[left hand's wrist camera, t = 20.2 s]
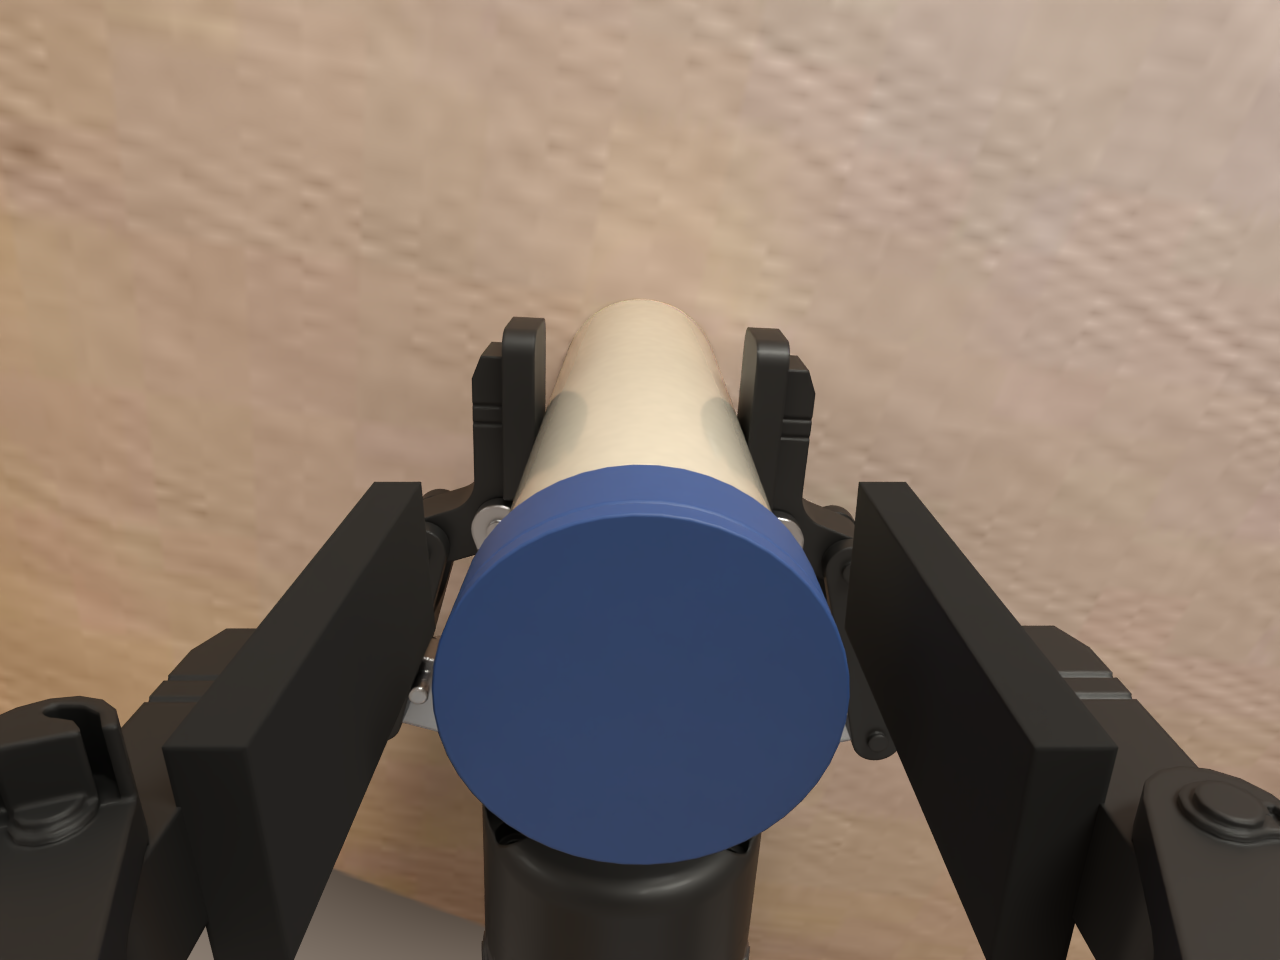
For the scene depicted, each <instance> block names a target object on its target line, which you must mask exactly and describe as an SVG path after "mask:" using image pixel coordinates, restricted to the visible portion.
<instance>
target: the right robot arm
mask: <svg viewBox="0 0 1280 960" xmlns="http://www.w3.org/2000/svg"><path fill="white" fill-rule="evenodd" d="M545 373H546V325H545V319H544V318H527V317H513V318H512V319H511V321H510V322H509V323H508V324H507V326H506V327H505V329H504V332H503V339H502V342H491V343H490V345H489V346H488V347H487V349H486V350H485V351H484V352H483V354H482V355H481V357H480V359H479V362H478V364H477V367H476V369H475V372H474V374H473V377H472V403H473V445H474V482H473V483H472V484H470V485H468V486H466V487H463V488H460V489H456V490H453V491H449V490H445V489H435V490H432V491H429V492H427V493H426V494H425V495H424V496H423V507H424V517H425V527H426V537H427V547H428V557H429V567H430V577H431V587H432V597H433V607H434V617H435V627H436V624H437V621H438V617H439V613H440V610H441V606H442V602H443V599H444V595H445V591H446V588H447V584H448V580H449V577H450V573H451V569H452V566H453V562H454V561H455V560H459V559H462V558H466V557H469V556H473V555H476V553H477V552H478V550H479V548H480V547H481V545H482V543H483V542H484V540H485V539H486V538H487V536H488V535H489V534H490V533H491V532H492V530H493V529H494V528H495V527H496V525H497V524H498V523H499V522H500V521H501V520H502V519H503V518H504V517H505V516H507V515H508V514H509V511H510V509H511V506H512V503H513V500H514V498H515V495H516V492H517V489H518V487H519V484H520V481H521V478H522V476H523V473H524V470H525V467H526V465H527V462H528V459H529V456H530V454H531V451H532V448H533V445H534V443H535V440H536V437H537V434H538V432H539V429H540V426H541V423H542V421H543V418H544V415H545ZM814 400H815V391H814V387H813V384H812V380H811V377H810V373H809V370H808V369H807V368H806V366H805V365H804V364H803V362H802V361H801V360H800V358H799V357H798V356H792V355H790V348H789V342H788V340H787V339H786V338H785V336H784V335H783V334H782V332H781V331H780V330H779V329H771V328H751V327H748V328H747V330H746V335H745V341H744V351H743V362H742V372H741V383H740V394H739V404H738V415H737V418H738V421H739V423H740V426H741V429H742V432H743V434H744V437H745V440H746V443H747V445H748V448H749V451H750V453H751V456H752V459H753V462H754V464H755V467H756V470H757V473H758V475H759V478H760V481H761V483H762V486H763V489H764V492H765V494H766V497H767V500H768V503H769V505H770V508H771V511H772V513H773V514H774V515H775V516H776V517H777V518H778V519H779V520H780V521H781V522H782V523H783V524H784V525H785V526H786V527H787V528H788V529H789V531H790V532H791V533H792V535H793V536H794V538H795V539H796V540H797V542H798V543H799V545H800V546H801V547H802V549H803V551H804V553H805V555H806V556H807V558H808V560H809V562H810V564H811V566H812V568H813V570H814V573H815V575H816V578H817V580H818V582H819V585H820V587H821V590H822V592H823V595H824V597H825V599H826V602H827V604H828V607H829V609H830V611H831V614H832V616H833V619H834V621H835V623H836V626H837V628H838V631H839V634H840V637H841V640H842V643H843V646H844V649H845V653H846V658H847V664H848V670H849V692H850V698H849V705H848V712H847V719H846V723H845V726H844V729H843V733H842V736H841V740H840V742H844V741H849V740H851V742H852V745H853V748H854V750H855V752H856V753H857V754H858V755H859V756H861V757H863V758H865V759H868V760H881V759H885V758H887V757H889V756H891V755H892V754H894V753H895V752H896V751H897V750H896V748H895V746H894V743H893V741H892V739H891V736H890V734H889V732H888V729H887V727H886V725H885V722H884V720H883V717H882V715H881V713H880V710H879V708H878V706H877V703H876V701H875V699H874V696H873V694H872V692H871V689H870V687H869V685H868V682H867V680H866V678H865V675H864V673H863V671H862V668H861V666H860V664H859V661H858V659H857V657H856V654H855V652H854V650H853V647H852V645H851V643H850V640H849V638H848V636H847V633H846V631H845V629H844V627H845V617H846V607H847V597H848V587H849V577H850V567H851V557H852V547H853V537H854V527H855V521H854V519H853V517H852V516H851V514H850V513H849V512H848V511H847V510H846V509H844V508H842V507H840V506H833V505H830V506H825V507H821V506H819V505H816V504H814V503H811V502H809V501H807V500H805V499H804V498H802V494H803V486H804V478H805V470H806V463H807V455H808V447H809V436H810V431H811V424H812V421H811V420H812V416H813V408H814ZM434 632H435V631H434ZM433 635H434V633H433ZM440 638H441V636H435V637H433V636H432V638H431V640H430V643H429V645H428V647H427V650H426V652H425V654H424V657H423V659H422V661H421V664H420V666H419V668H418V671H417V673H416V675H415V678H414V680H413V682H412V685H411V687H410V689H409V692H408V694H407V696H406V699H405V701H404V703H403V706H402V708H401V710H400V713H399V715H398V717H397V720H396V722H395V725H394V727H393V729H392V732H391V734H390V736H389V739H391V738H393V737H394V736H395V735H396V734H397V733H398V732H399V730H400V727H401V725H402V723H406V724H410V725H414V726H418V727H422V728H426V729H430V730H433V731H437V732H438V729H437V725H436V720H435V716H434V711H433V701H432V675H433V664H434V660H435V656H436V652H437V648H438V643H439V640H440ZM389 739H388V740H389ZM482 806H483V844H484V886H485V931H484V936H483V941H482V960H749V953H750V946H749V945H748V933H749V925H750V918H751V910H752V902H753V894H754V886H755V879H756V871H757V863H758V855H759V847H760V839H761V833H759V834H758V835H756V836H754V837H752V838H750V839H748V840H747V841H745V842H743V843H740V844H738V845H735V846H733V847H731V848H728V849H726V850H723V851H721V852H718V853H714V854H711V855H707V856H704V857H700V858H697V859H691V860H686V861H680V862H675V863H665V864H653V865H629V864H616V863H608V862H600V861H595V860H590V859H586V858H581V857H577V856H573V855H570V854H567V853H564V852H561V851H558V850H556V849H553V848H550V847H548V846H546V845H543V844H541V843H539V842H537V841H535V840H533V839H531V838H528V837H527V836H525V835H524V834H522V833H520V832H519V831H517V830H515V829H514V828H512V827H510V826H509V825H507V824H506V823H505V822H504V821H502V820H501V819H500V818H498V817H497V816H496V815H495V814H493V813H492V812H491V811H490V810H488V809H487V808H486V807H485V806H484V805H483V804H482Z"/></svg>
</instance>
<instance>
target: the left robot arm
mask: <svg viewBox="0 0 1280 960" xmlns="http://www.w3.org/2000/svg"><path fill="white" fill-rule="evenodd" d="M435 629H436V627H435V617H434V607H433V597H432V587H431V577H430V567H429V557H428V547H427V537H426V527H425V517H424V507H423V497H422V487H421V482H374V483H373V484H372V485H371V487H370V488H369V489H368V490H367V492H366V493H365V494H364V495H363V497H362V498H361V499H360V500H359V502H358V503H357V504H356V505H355V507H354V508H353V509H352V510H351V512H350V513H349V514H348V515H347V517H346V518H345V519H344V520H343V522H342V523H341V524H340V525H339V527H338V528H337V529H336V530H335V532H334V533H333V534H332V535H331V537H330V538H329V539H328V540H327V542H326V543H325V544H324V545H323V546H322V548H321V549H320V550H319V551H318V553H317V554H316V555H315V556H314V558H313V559H312V560H311V561H310V563H309V564H308V565H307V566H306V568H305V569H304V570H303V571H302V573H301V574H300V575H299V576H298V578H297V579H296V580H295V581H294V583H293V584H292V585H291V586H290V588H289V589H288V590H287V591H286V593H285V594H284V595H283V596H282V598H281V599H280V600H279V601H278V603H277V604H276V605H275V606H274V608H273V609H272V610H271V611H270V613H269V614H268V615H267V616H266V617H265V619H264V620H263V621H262V622H261V624H260V625H259V626H258V627H257V629H225V630H223V631H222V632H220V633H218V634H217V635H215V636H214V637H212V638H210V639H209V640H207V641H205V642H204V643H202V644H201V645H199V646H197V647H196V648H194V649H192V650H191V651H190V652H189V653H188V654H187V655H186V657H185V658H184V659H183V660H182V661H181V662H180V663H179V664H178V665H177V667H176V668H175V669H174V670H173V671H172V672H171V673H170V674H169V675H168V681H163V682H162V683H161V684H160V685H159V687H158V688H157V689H156V690H155V691H154V692H153V693H152V694H151V695H150V697H149V702H144V703H143V704H142V705H141V707H140V708H139V709H138V710H137V711H136V712H135V713H134V714H133V715H132V717H131V718H130V719H129V720H128V721H127V722H126V723H125V724H124V725H123V727H122V728H121V726H120V722H119V719H118V715H117V711H116V709H115V708H113V707H112V706H111V705H109V704H108V703H107V702H105V701H104V700H102V699H96V698H89V697H83V696H74V697H63V698H52V699H47V700H43V701H39V702H36V703H32V704H28V705H25V706H21V707H17V708H15V709H12V710H10V711H8V712H5V713H3V714H1V715H0V960H187V958H188V957H189V955H190V953H191V951H192V950H193V948H194V946H195V944H196V942H197V941H198V939H199V937H200V935H201V933H202V932H203V930H204V928H205V926H206V929H207V932H208V937H209V941H210V945H211V949H212V953H213V957H214V960H294V958H295V956H296V953H297V951H298V949H299V946H300V944H301V942H302V939H303V937H304V935H305V932H306V930H307V928H308V925H309V923H310V921H311V918H312V916H313V914H314V911H315V909H316V907H317V904H318V902H319V900H320V897H321V895H322V893H323V890H324V888H325V886H326V883H327V881H328V879H329V876H330V874H331V872H332V869H333V867H334V865H335V862H336V860H337V858H338V855H339V853H340V851H341V848H342V846H343V844H344V841H345V839H346V837H347V834H348V832H349V830H350V827H351V825H352V823H353V820H354V818H355V816H356V813H357V811H358V809H359V806H360V804H361V802H362V799H363V797H364V795H365V792H366V790H367V788H368V785H369V783H370V781H371V778H372V776H373V774H374V771H375V769H376V767H377V764H378V762H379V760H380V757H381V755H382V753H383V750H384V748H385V746H386V743H387V741H388V739H389V736H390V734H391V732H392V729H393V727H394V725H395V722H396V720H397V717H398V715H399V713H400V710H401V708H402V706H403V703H404V701H405V699H406V696H407V694H408V692H409V689H410V687H411V685H412V682H413V680H414V678H415V675H416V673H417V671H418V668H419V666H420V664H421V661H422V659H423V657H424V654H425V652H426V650H427V647H428V645H429V643H430V640H431V638H432V636H433V633H434V631H435ZM844 629H845V631H846V633H847V636H848V638H849V640H850V643H851V645H852V647H853V650H854V652H855V654H856V657H857V659H858V661H859V664H860V666H861V668H862V671H863V673H864V675H865V678H866V680H867V682H868V685H869V687H870V689H871V692H872V694H873V696H874V699H875V701H876V703H877V706H878V708H879V710H880V713H881V715H882V717H883V720H884V722H885V725H886V727H887V729H888V732H889V734H890V736H891V739H892V741H893V743H894V746H895V748H896V750H897V753H898V755H899V757H900V760H901V762H902V764H903V767H904V769H905V771H906V774H907V776H908V778H909V781H910V783H911V785H912V788H913V790H914V792H915V795H916V797H917V799H918V802H919V804H920V806H921V809H922V811H923V813H924V816H925V818H926V820H927V823H928V825H929V827H930V830H931V832H932V834H933V837H934V839H935V841H936V844H937V846H938V848H939V851H940V853H941V855H942V858H943V860H944V862H945V865H946V867H947V869H948V872H949V874H950V876H951V879H952V881H953V883H954V886H955V888H956V890H957V893H958V895H959V897H960V900H961V902H962V904H963V907H964V909H965V911H966V914H967V916H968V918H969V921H970V923H971V925H972V928H973V930H974V932H975V935H976V937H977V939H978V942H979V944H980V946H981V949H982V951H983V953H984V956H985V958H986V960H1066V957H1067V953H1068V949H1069V945H1070V941H1071V937H1072V933H1073V929H1074V925H1075V924H1076V925H1077V927H1078V929H1079V931H1080V933H1081V934H1082V936H1083V938H1084V940H1085V941H1086V943H1087V945H1088V947H1089V949H1090V950H1091V952H1092V954H1093V956H1094V957H1095V959H1096V960H1280V800H1279V799H1277V798H1276V797H1275V796H1273V795H1272V794H1270V793H1268V792H1266V791H1264V790H1262V789H1260V788H1258V787H1256V786H1254V785H1252V784H1250V783H1248V782H1246V781H1244V780H1242V779H1240V778H1237V777H1234V776H1231V775H1227V774H1224V773H1221V772H1217V771H1214V770H1211V769H1205V768H1198V767H1197V766H1196V764H1195V763H1194V762H1193V761H1192V760H1191V759H1190V758H1189V757H1188V756H1187V755H1186V753H1185V752H1184V751H1183V750H1182V749H1181V748H1180V747H1179V746H1178V745H1177V743H1176V742H1175V741H1174V740H1173V739H1172V738H1171V737H1170V736H1169V735H1168V734H1167V732H1166V731H1165V730H1164V729H1163V728H1162V727H1161V726H1160V725H1159V724H1158V723H1157V721H1156V720H1155V719H1154V718H1153V717H1152V716H1151V715H1150V714H1149V713H1148V711H1147V710H1146V709H1145V708H1144V707H1143V706H1142V705H1141V704H1140V703H1139V702H1138V700H1137V699H1132V697H1131V693H1130V692H1129V690H1128V689H1127V688H1126V687H1125V686H1124V685H1123V684H1122V683H1121V682H1120V681H1119V679H1118V678H1113V676H1112V672H1111V671H1110V669H1109V668H1108V667H1107V666H1106V665H1105V664H1104V663H1103V662H1102V661H1101V660H1100V658H1099V657H1098V656H1097V655H1096V654H1095V653H1094V652H1093V651H1092V650H1091V649H1090V647H1088V646H1086V645H1085V644H1083V643H1081V642H1080V641H1078V640H1077V639H1075V638H1073V637H1072V636H1070V635H1068V634H1067V633H1065V632H1063V631H1062V630H1060V629H1058V628H1057V627H1055V626H1021V625H1020V624H1019V622H1018V621H1017V620H1016V619H1015V617H1014V616H1013V615H1012V614H1011V613H1010V611H1009V610H1008V609H1007V608H1006V606H1005V605H1004V604H1003V603H1002V601H1001V600H1000V599H999V598H998V596H997V595H996V594H995V593H994V591H993V590H992V589H991V588H990V586H989V585H988V584H987V583H986V581H985V580H984V579H983V578H982V576H981V575H980V574H979V573H978V571H977V570H976V569H975V568H974V566H973V565H972V564H971V563H970V561H969V560H968V559H967V558H966V556H965V555H964V554H963V553H962V551H961V550H960V549H959V548H958V546H957V545H956V544H955V543H954V542H953V540H952V539H951V538H950V537H949V535H948V534H947V533H946V532H945V530H944V529H943V528H942V527H941V525H940V524H939V523H938V522H937V520H936V519H935V518H934V517H933V515H932V514H931V513H930V512H929V510H928V509H927V508H926V507H925V505H924V504H923V503H922V502H921V500H920V499H919V498H918V497H917V495H916V494H915V493H914V492H913V490H912V489H911V488H910V487H909V485H908V484H907V483H906V482H859V487H858V497H857V507H856V517H855V527H854V537H853V547H852V557H851V567H850V577H849V587H848V597H847V607H846V617H845V627H844Z"/></svg>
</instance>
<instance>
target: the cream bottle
mask: <svg viewBox="0 0 1280 960" xmlns="http://www.w3.org/2000/svg"><path fill="white" fill-rule="evenodd" d="M623 465H661V466H668V467H675V468H681V469H686V470H690V471H693V472H697V473H701V474H704V475H708V476H711V477H713V478H715V479H718V480H720V481H722V482H725V483H727V484H729V485H732V486H734V487H735V488H737V489H739V490H741V491H742V492H744V493H746V494H747V495H749V496H751V497H752V498H754V499H755V500H757V501H758V502H759V503H760V504H762V505H763V506H764V507H766V508H767V509H768V510H769V511H771V508H770V505H769V503H768V500H767V497H766V494H765V492H764V489H763V486H762V483H761V481H760V478H759V475H758V473H757V470H756V467H755V464H754V462H753V459H752V456H751V453H750V451H749V448H748V445H747V443H746V440H745V437H744V434H743V432H742V429H741V426H740V423H739V421H738V418H737V415H736V412H735V410H734V407H733V404H732V402H731V399H730V396H729V393H728V391H727V388H726V385H725V382H724V380H723V377H722V374H721V372H720V369H719V366H718V363H717V361H716V358H715V355H714V352H713V350H712V347H711V345H710V342H709V340H708V339H707V337H706V335H705V333H704V332H703V331H702V329H701V328H700V327H699V325H698V324H697V323H696V322H695V321H694V320H693V319H692V318H690V317H689V316H688V315H686V314H685V313H684V312H682V311H681V310H679V309H677V308H675V307H673V306H671V305H668V304H666V303H663V302H659V301H655V300H647V299H633V300H626V301H622V302H618V303H615V304H612V305H610V306H607V307H605V308H603V309H602V310H600V311H598V312H597V313H595V314H594V315H593V316H592V317H590V318H589V319H588V320H587V321H586V322H585V323H584V324H583V325H582V326H581V328H580V329H579V330H578V332H577V333H576V334H575V336H574V338H573V340H572V342H571V344H570V346H569V349H568V352H567V355H566V357H565V360H564V363H563V366H562V368H561V371H560V374H559V377H558V379H557V382H556V385H555V388H554V390H553V393H552V396H551V399H550V401H549V404H548V407H547V410H546V412H545V415H544V418H543V421H542V423H541V426H540V429H539V432H538V434H537V437H536V440H535V443H534V445H533V448H532V451H531V454H530V456H529V459H528V462H527V465H526V467H525V470H524V473H523V476H522V478H521V481H520V484H519V487H518V489H517V492H516V495H515V498H514V500H513V503H512V506H511V509H510V511H509V513H510V512H511V511H512V510H513V509H514V508H515V507H516V506H518V505H519V504H521V503H522V502H524V501H525V500H526V499H528V498H529V497H531V496H532V495H534V494H535V493H537V492H539V491H540V490H542V489H544V488H546V487H548V486H550V485H552V484H554V483H556V482H558V481H561V480H563V479H566V478H569V477H572V476H574V475H577V474H580V473H583V472H587V471H592V470H596V469H601V468H605V467H613V466H623ZM771 512H772V511H771Z"/></svg>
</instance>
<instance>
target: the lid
mask: <svg viewBox="0 0 1280 960" xmlns="http://www.w3.org/2000/svg"><path fill="white" fill-rule="evenodd" d="M849 698H850V692H849V670H848V664H847V658H846V653H845V649H844V646H843V643H842V640H841V637H840V634H839V631H838V628H837V626H836V623H835V621H834V619H833V616H832V614H831V611H830V609H829V607H828V604H827V602H826V599H825V597H824V595H823V592H822V590H821V587H820V585H819V582H818V580H817V578H816V575H815V573H814V570H813V568H812V566H811V564H810V562H809V560H808V558H807V556H806V555H805V553H804V551H803V549H802V547H801V546H800V545H799V543H798V542H797V540H796V539H795V538H794V536H793V535H792V533H791V532H790V531H789V529H788V528H787V527H786V526H785V525H784V524H783V523H782V522H781V521H780V520H779V519H778V518H777V517H776V516H775V515H774V514H773V513H772V512H771V511H769V510H768V509H767V508H766V507H764V506H763V505H762V504H760V503H759V502H758V501H757V500H755V499H754V498H752V497H751V496H749V495H747V494H746V493H744V492H742V491H741V490H739V489H737V488H735V487H734V486H732V485H729V484H727V483H725V482H722V481H720V480H718V479H715V478H713V477H711V476H708V475H704V474H701V473H697V472H693V471H690V470H686V469H681V468H675V467H668V466H661V465H623V466H613V467H605V468H601V469H596V470H592V471H587V472H583V473H580V474H577V475H574V476H572V477H569V478H566V479H563V480H561V481H558V482H556V483H554V484H552V485H550V486H548V487H546V488H544V489H542V490H540V491H539V492H537V493H535V494H534V495H532V496H531V497H529V498H528V499H526V500H525V501H524V502H522V503H521V504H519V505H518V506H516V507H515V508H514V509H513V510H512V511H511V512H510V513H509V514H508V515H507V516H505V517H504V518H503V519H502V520H501V521H500V522H499V523H498V524H497V525H496V527H495V528H494V529H493V530H492V532H491V533H490V534H489V535H488V536H487V538H486V539H485V540H484V542H483V543H482V545H481V547H480V548H479V550H478V552H477V553H476V555H475V557H474V558H473V560H472V562H471V565H470V567H469V570H468V572H467V574H466V577H465V579H464V582H463V584H462V586H461V589H460V591H459V594H458V596H457V599H456V601H455V603H454V606H453V608H452V611H451V613H450V616H449V618H448V620H447V623H446V625H445V628H444V630H443V633H442V635H441V638H440V640H439V643H438V648H437V652H436V656H435V660H434V664H433V675H432V701H433V711H434V716H435V720H436V725H437V729H438V733H439V736H440V738H441V741H442V743H443V746H444V749H445V751H446V754H447V756H448V758H449V759H450V761H451V763H452V765H453V766H454V768H455V770H456V772H457V773H458V775H459V776H460V778H461V779H462V780H463V782H464V783H465V784H466V786H467V787H468V788H469V790H470V791H471V792H472V793H473V794H474V795H475V796H476V797H477V798H478V799H479V801H480V802H481V803H482V804H483V805H484V806H485V807H486V808H487V809H488V810H490V811H491V812H492V813H493V814H495V815H496V816H497V817H498V818H500V819H501V820H502V821H504V822H505V823H506V824H507V825H509V826H510V827H512V828H514V829H515V830H517V831H519V832H520V833H522V834H524V835H525V836H527V837H528V838H531V839H533V840H535V841H537V842H539V843H541V844H543V845H546V846H548V847H550V848H553V849H556V850H558V851H561V852H564V853H567V854H570V855H573V856H577V857H581V858H586V859H590V860H595V861H600V862H608V863H616V864H629V865H653V864H665V863H675V862H680V861H686V860H691V859H697V858H700V857H704V856H707V855H711V854H714V853H718V852H721V851H723V850H726V849H728V848H731V847H733V846H735V845H738V844H740V843H743V842H745V841H747V840H748V839H750V838H752V837H754V836H756V835H758V834H759V833H761V832H763V831H765V830H766V829H768V828H769V827H771V826H772V825H773V824H775V823H776V822H778V821H779V820H780V819H782V818H783V817H785V816H786V815H787V814H788V813H789V812H790V811H791V810H792V809H794V808H795V807H796V806H797V805H798V804H799V803H800V802H801V801H802V800H803V799H804V798H805V797H806V796H807V794H808V793H809V792H810V791H811V790H812V789H813V787H814V786H815V785H816V784H817V783H818V781H819V780H820V778H821V776H822V775H823V773H824V772H825V770H826V769H827V767H828V766H829V764H830V762H831V760H832V758H833V756H834V754H835V751H836V749H837V747H838V745H839V743H840V740H841V736H842V733H843V729H844V726H845V723H846V719H847V712H848V705H849Z"/></svg>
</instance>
